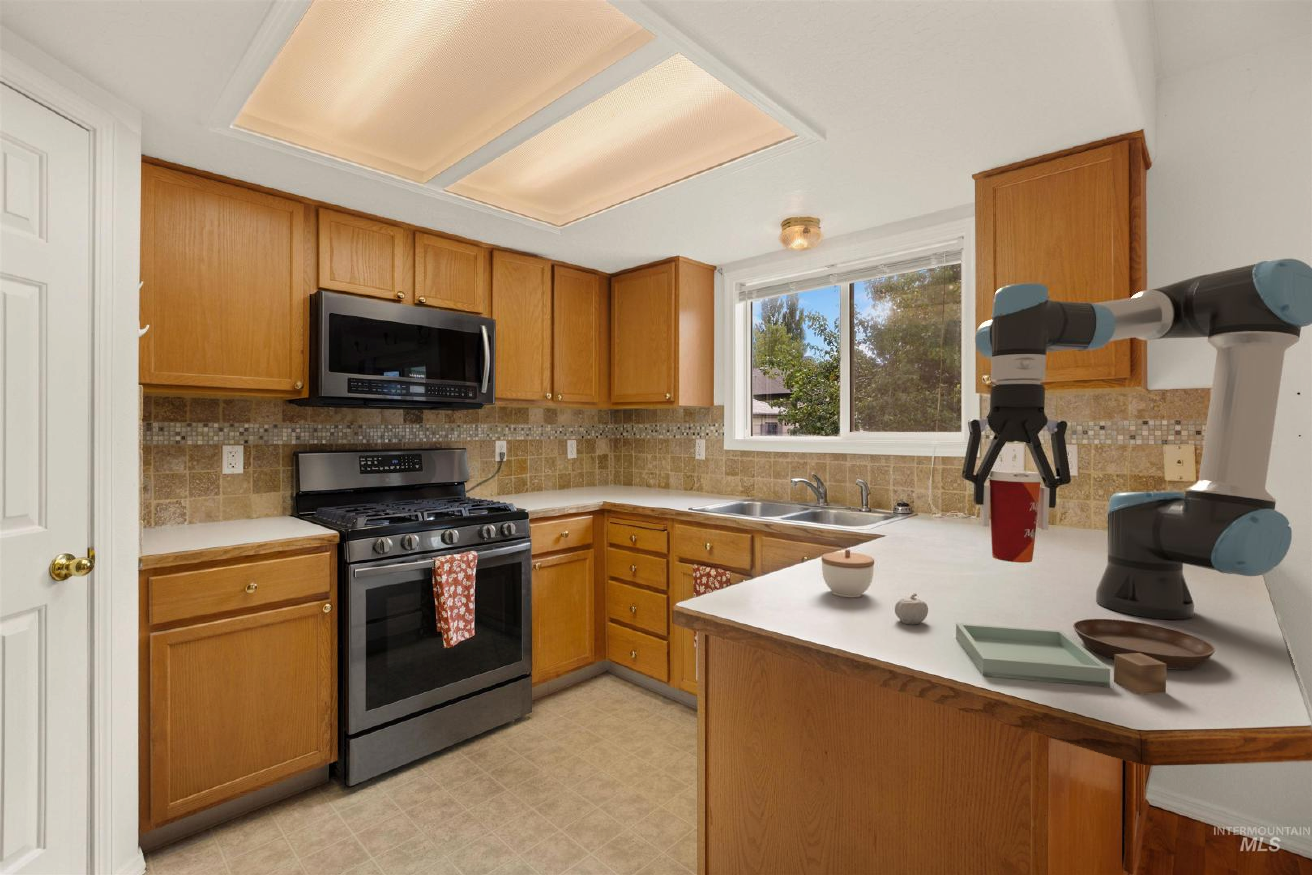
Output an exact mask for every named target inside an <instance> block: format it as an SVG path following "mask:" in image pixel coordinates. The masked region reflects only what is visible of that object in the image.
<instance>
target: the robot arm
mask: <svg viewBox="0 0 1312 875" xmlns="http://www.w3.org/2000/svg"><path fill="white" fill-rule="evenodd" d="M992 303H993V304H992V313H991V318H992V319H989V320H986V321H984V322H982V323H981V325H979V327H978V328H977V330H976V332H975V337H974V339H975V340H974V341H975V346H976V350H978V353H979V354H980V355H981V356H982V357H985V358H986V359H990V360H991V361H990V362H991V363H990V364H991V366H990V381H991V382H992V383H994V385H992V386H991V387H990V389H989V390H990V395H989V396H990V397H989V413H988V414H987V416H986V418H980V419H970V420H968V422H967V425H968V430H969V437H968V441H967V446H966V451H965V457H964V462H963V467H962V471H961V472H962V473H961V477H962V479H964V480H966V481H968V482H971V483H972V484H973V503H974V504H975V505H978V506H979V505H980V506H979V524H980V525H981V526H983V527H990V484H986V481H987V480H988V479H987V478H988V477H989V476H990V471H991V470H993V467H994V465H995V463H996V461H997V459H998V457H999V455H1000V453H1001V452H1002V449H1003V448H1004V446H1005V445H1006V443H1014V442H1017V443H1018V442H1019V443H1025V445H1026V447H1027V448H1028V450H1029V453H1030V454H1031V457H1032V459H1033V461H1034V464H1035V466H1036V469H1037V471H1038V473H1040V478H1041V480H1042V481H1043V482H1042V483H1043V485H1044V486H1041V485H1040V492H1039V502H1038V513H1037V523H1036V528H1039V529H1041V530H1046V531H1048V530H1049V519H1050V518H1049V516H1050V509H1055V507H1056V506H1057V489H1058V488H1059V487H1060V486H1063V485H1069V484H1070V483H1071V482H1072V477H1071V471H1070V464H1069V458H1068V451H1067V450H1068V449H1067V443H1066V436H1065V435H1066V432H1067V429H1068V428H1067V427H1068V422H1067V421H1066V420H1055V419H1051V418H1050V419H1049V418H1048V417H1047V415H1046V412H1045V407H1046V406H1045V403H1046V402H1045V400H1046V386H1045V385H1044V384H1041V383H1042V382H1044V381H1045V380H1046V362H1047V360H1046V358H1047V353H1053V352H1060V351H1072V350H1073V351H1078V352H1080V351H1081V352H1082V351H1094V350H1098V349H1101V348H1103V347H1104V346H1106V345H1107V344H1108V343H1109V342H1112V341H1113V342H1114V341H1120V340H1125V339H1131V338H1136V339H1138V340H1142V341H1153V340H1161V339H1188V338H1189V339H1190V338H1191V339H1195V338H1196V339H1197V338H1207V342H1208V343H1209V344H1210V345H1211V346H1213V348H1215V349H1216V358H1215V365H1214V371H1213V379H1212V386H1211V391H1210V392H1211V393H1210V399H1209V404H1208V405H1209V406H1208V412H1207V418H1206V419H1207V420H1206V427H1205V435H1204V439H1203V440H1204V442H1203V446H1202V447H1203V448H1202V453H1201V454H1202V455H1201V462H1200V468H1199V473H1198V474H1199V475H1198V480H1197V482H1196V483H1194V484H1192V485H1191V486H1189V487H1187V488H1186V489H1185V492H1183V491H1179V490H1174V491H1173V490H1171V491H1169V490H1168V491H1167V490H1166V491H1165V490H1164V491H1163V490H1162V491H1134V492H1133V491H1132V492H1130V491H1128V492H1125V491H1124V492H1116V493H1113V494H1112V495H1111V496H1110V497H1109V499H1108V500H1109V504H1108V511H1107V563H1106V567H1105V570H1104V572H1103V573H1102V576H1101V579H1100V581H1099V583H1098V586H1097V588H1096V592H1095V601H1096V603H1097V604H1098V605H1100V606H1101V607H1104V608H1107V609H1109V610H1112V611H1115V612H1120V613H1123V614H1128V615H1132V616H1138V617H1145V618H1151V619H1152V618H1153V619H1162V620H1187V619H1191V618H1193V617H1194V615H1195V604H1194V601H1193V600H1194V599H1193V597H1192V595H1191V592H1190V589H1189V587H1188V585H1187V582H1186V578H1185V576H1184V571H1183V569H1184V565H1189V566H1193V567H1197V568H1201V569H1202V568H1203V569H1207V570H1212V571H1216V572H1219V573H1221V574H1228V575H1237V576H1242V577H1259V576H1263V575H1264V574H1265V575H1266V574H1268V573H1270V572H1271V571H1272V570H1273V569H1274V568H1276V567H1277V566H1279V565H1280V564H1281V563H1282V562H1283V560H1284V559H1285V557H1286V556H1287V555H1288V554H1287V553H1288V552H1289V550H1290V546H1291V544H1292V538H1293V535H1292V534H1293V532H1292V531H1293V530H1292V528H1291V526H1289V524H1290V521H1289V519H1288V517H1286V516H1285V515H1284V514H1283V513H1281V512H1279V511H1278V510H1276V503H1277V500H1276V498H1274V497H1273V496H1272V495H1271V494H1270V493H1269V492H1268V491H1267V490H1266V486H1267V485H1266V484H1267V478H1268V471H1269V464H1270V457H1271V456H1270V455H1271V451H1272V450H1271V449H1272V442H1273V435H1274V428H1275V421H1276V415H1277V408H1278V402H1279V394H1280V387H1281V380H1282V375H1283V374H1282V373H1283V367H1284V366H1283V365H1284V359H1285V353H1286V350H1288V349H1289V348H1291V347H1292V346H1294V345H1295V344H1297V343H1299V341H1300V335H1301V330H1302V327H1308V326H1310V325H1312V267H1311V266H1310V265H1309V264H1307V263H1306V262H1304V261H1302V260H1299V259H1296V258H1282V259H1276V260H1270V261H1267V260H1264V261H1260V262H1257V263H1254V264H1249V265H1245V266H1240V267H1235V268H1232V269H1231V268H1229V269H1227V270H1221V271H1217V272H1212V273H1207V274H1203V275H1198V276H1194V277H1192V278H1191V277H1190V278H1187V279H1183V280H1181V281H1177V282H1175V283H1171V284H1169V285H1165V286H1161V287H1157V288H1153V289H1146V290H1142V291H1139V292H1138V293H1136V294H1134V295H1133V296H1132V297H1129V298H1128V297H1127V298H1122V299H1116V300H1115V299H1114V300H1109V301H1102V302H1094V303H1092V302H1089V301H1088V302H1087V301H1085V302H1076V301H1075V302H1073V301H1058V300H1057V301H1056V300H1051V299H1050V295H1049V289H1048V287H1047V285H1045V284H1042V283H1038V282H1036V283H1035V282H1025V283H1016V284H1010V285H1006V286H1003V287H1001V288H999V289H997V290H996V292H995V294H994V297H993V302H992ZM986 426H988V427H989V428H990V430H991V431H992V432H993V434H994V435H993V437H992V439H991V442H990V445H989V447H988V449H987V451H986V453H985V454H984V457H983V459H982V461H981V463H980V465H979V468H978V469H977V471H976V473H975V469H976V464H977V459H978V453H979V449H980V445H981V444H980V443H981V438H982V433H983V432H984V431H985V429H986ZM1045 427H1046V428H1047V432H1048V433H1049V434H1050V443H1051V450H1052V457H1053V464H1054V471H1055V474H1054V472H1053V469H1052V467H1051V464H1050V462H1049V459H1048V458H1047V457H1048V456H1046V453H1045V451H1044V449H1043V445H1042V441H1041V439H1040V437H1039V434H1040V433H1041V431H1042V430H1043V429H1044V428H1045Z"/></svg>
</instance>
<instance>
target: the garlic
mask: <svg viewBox="0 0 1312 875" xmlns="http://www.w3.org/2000/svg"><path fill="white" fill-rule="evenodd" d="M917 596H918V594H917V593H912V595H911V596H910V597H909V596H905V597H903V598H901V599H899V600H898V601H897V602H896V604H895V606H894V613H895V615H896V617H897V618H898V619H899V621H900V622H902V623H904V624H905V625H917V624H922V622H924V620H926V618H927V616H928V613H929V607H928V605H927V603H926V602H925V601H924V600H921V599H918V598H916V597H917Z"/></svg>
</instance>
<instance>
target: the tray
mask: <svg viewBox="0 0 1312 875" xmlns="http://www.w3.org/2000/svg"><path fill="white" fill-rule="evenodd" d="M955 638H956V640H957V642H958V643H959V644H960V645H961V647H962V648H963V650H964V651H965V653H966V655H967V656H968V657H969V658H970V659H971V661H972V662H973V664H974V665H975V667H976V668H977V669H978V671H979V672H980V674H981V675H982V676H983V677H993V678H1004V679H1005V678H1006V679H1014V680H1016V679H1018V680H1028V681H1038V682H1039V681H1041V682H1050V683H1063V684H1070V685H1071V684H1073V685H1083V686H1084V685H1085V686H1094V687H1106V688H1107V687H1108V688H1110V687H1111V685H1110V684H1111V683H1110V682H1111V668H1110V667H1108V666H1107V665H1106V664H1105V663H1103V662H1102V661H1101V660H1100V659H1099V658H1097V657H1096V656H1094V655H1093V654H1092V653H1091V652H1089V651H1088V650H1087V649H1086V648H1085V647H1084V646H1082V645H1081V644H1079V642H1077V641H1076V640H1074V639H1073V638H1072V637H1071V636H1070V635H1069V634H1067V633H1066V632H1064V631H1063V630H1059V629H1058V630H1056V629H1040V628H1027V627H1015V626H1013V627H1012V626H998V625H987V624H986V625H984V624H970V623H969V624H968V623H957V622H956V623H955Z"/></svg>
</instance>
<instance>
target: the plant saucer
mask: <svg viewBox="0 0 1312 875" xmlns="http://www.w3.org/2000/svg"><path fill="white" fill-rule="evenodd" d="M1072 627H1073V630H1074V631H1075V633H1076V635H1077V636H1078V637H1079V638H1080V640H1081V641H1083V643H1084V644H1085V645H1086V646H1087V647H1088V648H1089V649H1091V650H1092V651H1094V652H1096V653H1099V655H1103V656H1105V657H1107V658H1111V659H1114V654H1130V653H1141V654H1143V655H1146V656H1148V657H1151V658H1153V659H1155V660H1158V661H1160V662H1163V663H1165V664H1166V670H1189V669H1195V668H1196V667H1199V666H1200V665H1201V664H1203V663H1205V662H1206V661H1207V660H1208V659H1210V658H1211V657H1212V656H1213V655H1214V654H1215V652H1216V648H1215V647H1214V645H1212V644H1211V643H1210V642H1208V641H1206V640H1204V639H1203V638H1200V637H1197V636H1195V635H1193V634H1190V633H1185V632H1183V631H1181V630H1176V629H1173V628H1169V627H1164V626H1159V625H1155V624H1151V623H1144V622H1139V621H1138V622H1137V621H1131V620H1125V619H1111V618H1090V619H1089V618H1087V619H1082V620H1078V621H1075V622H1074V623H1073V626H1072Z"/></svg>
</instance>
